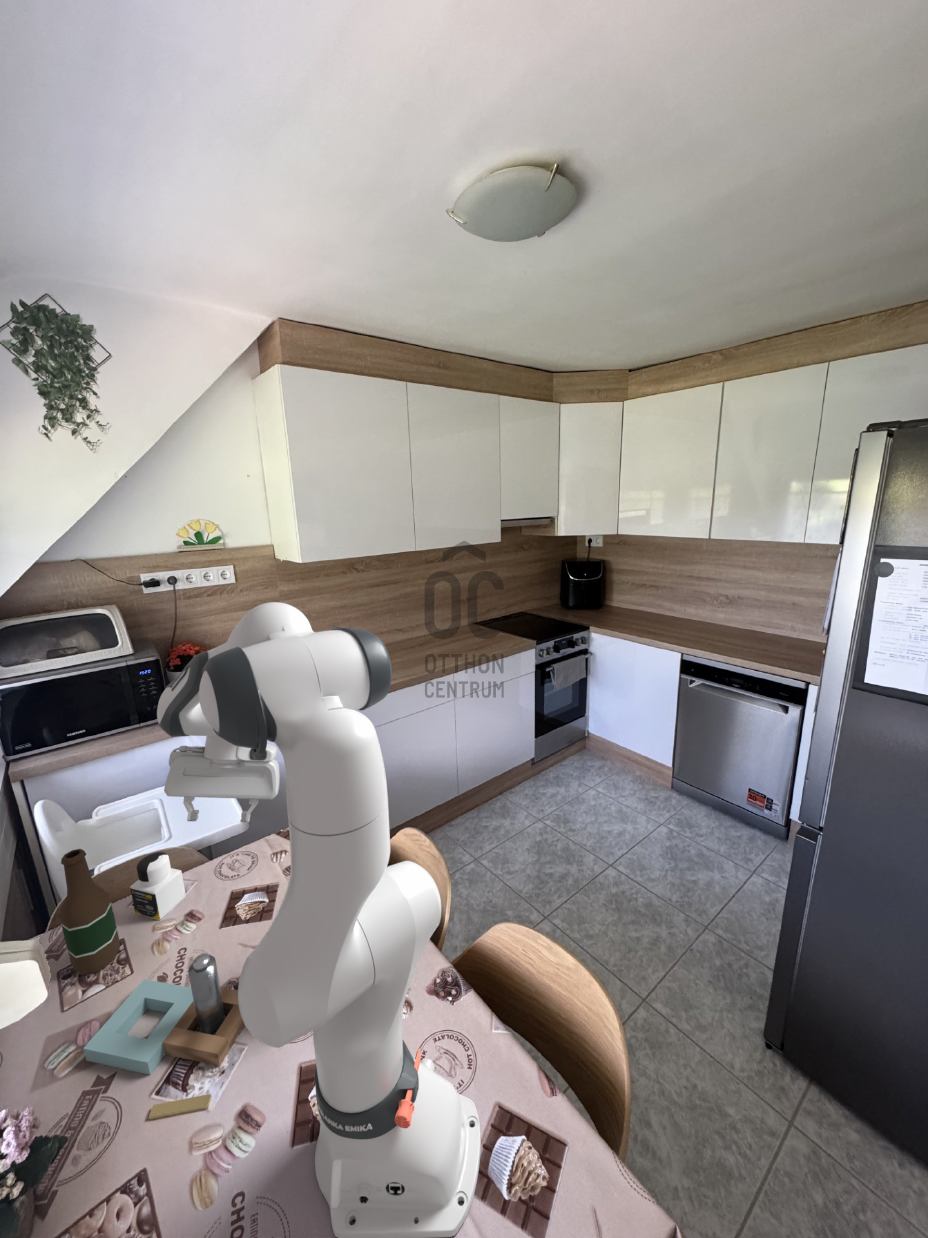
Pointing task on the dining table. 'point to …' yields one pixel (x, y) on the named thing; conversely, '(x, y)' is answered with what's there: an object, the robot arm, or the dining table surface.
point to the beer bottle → (87, 918)
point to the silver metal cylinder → (206, 994)
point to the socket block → (202, 1045)
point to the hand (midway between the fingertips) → (218, 821)
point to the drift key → (180, 1106)
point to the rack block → (112, 1038)
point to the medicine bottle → (157, 886)
